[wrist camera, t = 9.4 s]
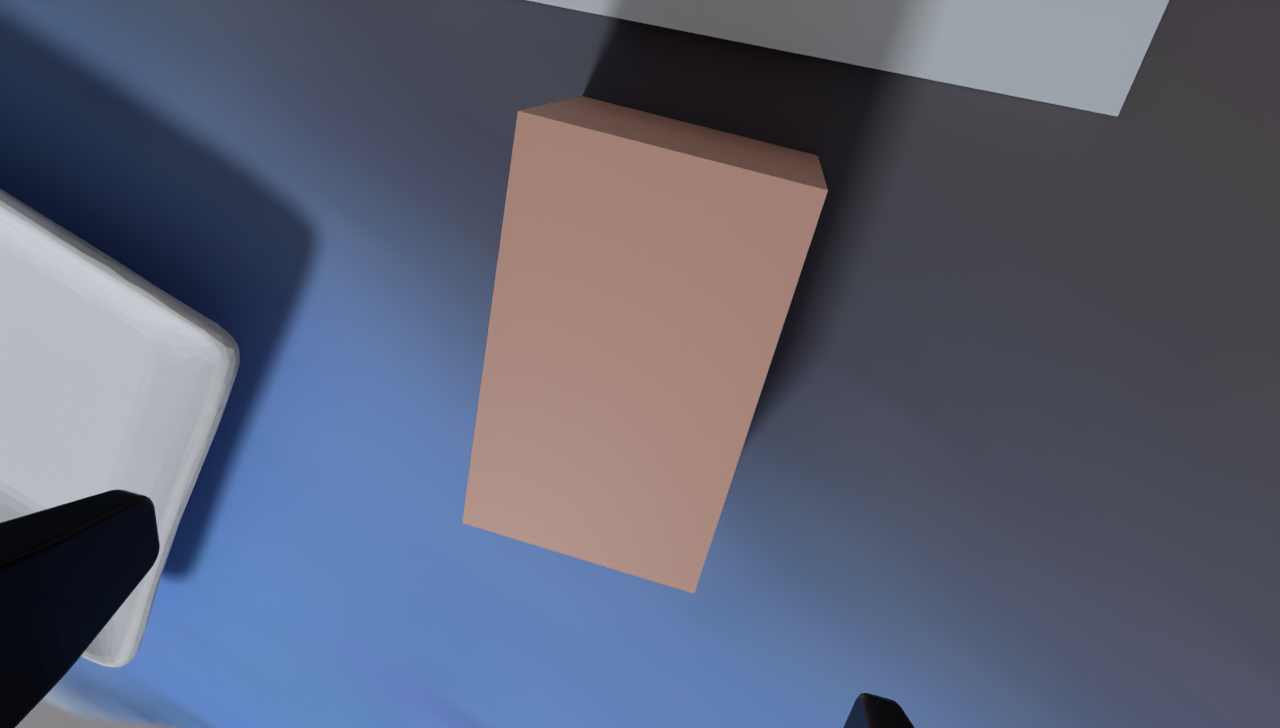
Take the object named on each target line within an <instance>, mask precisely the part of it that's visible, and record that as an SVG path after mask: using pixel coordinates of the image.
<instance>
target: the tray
mask: <svg viewBox="0 0 1280 728" xmlns="http://www.w3.org/2000/svg"><path fill="white" fill-rule="evenodd" d="M239 365H240V356H239V348H238V345H237V343H236V341H235V339H234V338H233V337H232V336H231V335H230V334H229V333H228V332H227V331H226V330H224V329H223V328H222V327H221V326H219V325H218V324H217V323H215V322H213V321H212V320H210V319H208V318H207V317H205V316H203V315H202V314H200V313H199V312H197V311H196V310H194V309H192V308H191V307H189V306H187V305H186V304H184V303H183V302H181V301H179V300H178V299H176V298H174V297H173V296H171V295H169V294H168V293H166V292H165V291H163V290H161V289H160V288H158V287H157V286H155V285H153V284H152V283H150V282H149V281H147V280H146V279H144V278H143V277H141V276H139V275H138V274H136V273H135V272H133V271H132V270H130V269H129V268H127V267H125V266H124V265H122V264H121V263H119V262H118V261H116V260H114V259H113V258H111V257H110V256H108V255H107V254H105V253H103V252H102V251H100V250H98V249H97V248H95V247H94V246H92V245H90V244H89V243H87V242H86V241H84V240H82V239H81V238H79V237H78V236H76V235H74V234H73V233H71V232H69V231H68V230H66V229H65V228H63V227H61V226H60V225H58V224H57V223H55V222H53V221H52V220H50V219H49V218H47V217H45V216H44V215H42V214H41V213H39V212H37V211H36V210H34V209H32V208H31V207H29V206H28V205H26V204H24V203H23V202H21V201H20V200H18V199H16V198H15V197H13V196H12V195H10V194H8V193H7V192H5V191H4V190H2V189H0V523H1V522H4V521H8V520H11V519H15V518H18V517H21V516H25V515H28V514H32V513H35V512H39V511H42V510H45V509H49V508H52V507H56V506H59V505H62V504H66V503H69V502H73V501H76V500H80V499H83V498H86V497H90V496H93V495H97V494H100V493H103V492H107V491H110V490H116V489H120V490H126V491H130V492H133V493H137V494H141V495H144V496H147V497H149V498H150V499H151V501H152V502H153V504H154V507H155V514H156V521H157V529H158V536H159V543H160V549H159V554H158V557H157V560H156V561H155V563H154V565H153V566H152V568H151V569H150V571H149V572H148V573H147V574H146V575H145V577H144V578H143V579H142V580H141V582H140V583H139V584H138V585H137V587H136V588H135V589H134V590H133V592H132V593H131V594H130V595H129V597H128V598H127V599H126V600H125V602H124V603H123V604H122V605H121V607H120V608H119V609H118V610H117V612H116V613H115V614H114V615H113V617H112V618H111V619H110V620H109V622H108V623H107V624H106V625H105V627H104V628H103V629H102V630H101V632H100V633H99V634H98V635H97V637H96V638H95V639H94V640H93V642H92V643H91V644H90V645H89V646H88V648H87V649H86V650H85V651H84V653H83V654H82V655H81V656H82V657H84V658H86V659H88V660H90V661H92V662H95V663H98V664H100V665H103V666H108V667H121V666H123V665H125V664H127V663H129V662H130V661H131V660H132V659H133V658H134V657H135V655H136V654H137V652H138V649H139V647H140V644H141V641H142V638H143V635H144V631H145V628H146V625H147V622H148V619H149V616H150V612H151V609H152V605H153V602H154V598H155V595H156V591H157V588H158V584H159V581H160V578H161V575H162V572H163V570H164V567H165V564H166V561H167V558H168V555H169V552H170V549H171V546H172V543H173V540H174V538H175V535H176V532H177V529H178V526H179V523H180V521H181V518H182V516H183V513H184V510H185V508H186V505H187V503H188V500H189V498H190V495H191V493H192V490H193V488H194V485H195V483H196V480H197V478H198V475H199V473H200V470H201V468H202V465H203V463H204V460H205V458H206V456H207V453H208V451H209V448H210V446H211V443H212V441H213V439H214V436H215V434H216V431H217V429H218V426H219V424H220V421H221V418H222V415H223V413H224V410H225V407H226V404H227V401H228V398H229V395H230V392H231V390H232V387H233V384H234V381H235V378H236V375H237V371H238V368H239Z"/></svg>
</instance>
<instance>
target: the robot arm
mask: <svg viewBox="0 0 1280 728" xmlns="http://www.w3.org/2000/svg"><path fill="white" fill-rule="evenodd" d="M159 549H160V543H159V536H158V529H157V521H156V514H155V507H154V504H153V502H152V501H151V499H150V498H149V497H147V496H144V495H141V494H137V493H133V492H130V491H126V490H120V489H116V490H110V491H107V492H103V493H100V494H97V495H93V496H90V497H86V498H83V499H80V500H76V501H73V502H69V503H66V504H62V505H59V506H56V507H52V508H49V509H45V510H42V511H39V512H35V513H32V514H28V515H25V516H21V517H18V518H15V519H11V520H8V521H4V522H1V523H0V728H15V727H16V726H17V725H18V724H19V723H20V722H21V721H22V720H23V719H24V718H25V717H26V715H27V714H28V713H29V712H30V711H31V710H32V709H33V708H34V707H35V706H36V705H37V704H38V703H39V702H40V701H41V700H42V699H43V698H44V697H45V696H46V695H47V693H48V692H49V691H50V690H51V689H52V688H53V687H54V686H55V685H56V684H57V683H58V682H59V681H60V679H61V678H62V677H63V676H64V675H65V674H66V673H67V672H68V671H69V669H70V668H71V667H72V666H73V665H74V663H75V662H76V661H77V660H78V659H79V657H80V656H81V655H82V654H83V653H84V651H85V650H86V649H87V648H88V646H89V645H90V644H91V643H92V642H93V640H94V639H95V638H96V637H97V635H98V634H99V633H100V632H101V630H102V629H103V628H104V627H105V625H106V624H107V623H108V622H109V620H110V619H111V618H112V617H113V615H114V614H115V613H116V612H117V610H118V609H119V608H120V607H121V605H122V604H123V603H124V602H125V600H126V599H127V598H128V597H129V595H130V594H131V593H132V592H133V590H134V589H135V588H136V587H137V585H138V584H139V583H140V582H141V580H142V579H143V578H144V577H145V575H146V574H147V573H148V572H149V571H150V569H151V568H152V566H153V565H154V563H155V561H156V560H157V557H158V554H159ZM844 728H914V726H913V725H912V723H911V722H910V720H909V719H908V717H907V716H906V714H905V713H904V711H903V709H902V708H901V707H900V706H899V705H898V704H897V703H896V702H895V701H893V700H890V699H887V698H883V697H879V696H876V695H872V694H869V693H862V694H860V695H859V696H858V698H857V699H856V701H855V703H854V705H853V707H852V710H851V712H850V714H849V716H848V719H847V721H846V723H845V725H844Z"/></svg>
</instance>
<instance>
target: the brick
mask: <svg viewBox="0 0 1280 728" xmlns="http://www.w3.org/2000/svg"><path fill="white" fill-rule="evenodd" d="M827 192H828V189H827V185H826V182H825V179H824V175H823V172H822V169H821V165H820V162H819V158H818V155H814V154H810V153H806V152H802V151H798V150H794V149H790V148H786V147H782V146H778V145H774V144H770V143H766V142H762V141H758V140H755V139H751V138H747V137H743V136H739V135H735V134H731V133H727V132H723V131H719V130H715V129H711V128H707V127H703V126H699V125H695V124H691V123H687V122H683V121H679V120H675V119H671V118H667V117H664V116H660V115H656V114H652V113H648V112H644V111H640V110H636V109H632V108H628V107H624V106H620V105H616V104H612V103H608V102H604V101H600V100H596V99H592V98H588V97H584V96H580V97H576V98H572V99H567V100H563V101H558V102H554V103H550V104H545V105H541V106H537V107H532V108H528V109H523V110H519V111H518V115H517V122H516V130H515V137H514V144H513V152H512V159H511V166H510V174H509V181H508V189H507V196H506V203H505V211H504V218H503V226H502V233H501V240H500V248H499V255H498V263H497V270H496V277H495V285H494V292H493V299H492V307H491V314H490V322H489V329H488V336H487V344H486V351H485V359H484V366H483V373H482V381H481V388H480V395H479V403H478V410H477V418H476V425H475V432H474V440H473V447H472V455H471V462H470V469H469V477H468V484H467V491H466V499H465V506H464V514H463V521H462V523H464V524H467V525H471V526H474V527H477V528H481V529H484V530H487V531H490V532H494V533H497V534H500V535H503V536H507V537H510V538H513V539H517V540H520V541H523V542H526V543H530V544H533V545H536V546H539V547H543V548H546V549H549V550H552V551H556V552H559V553H562V554H566V555H569V556H572V557H575V558H579V559H582V560H585V561H588V562H592V563H595V564H598V565H602V566H605V567H608V568H611V569H615V570H618V571H621V572H624V573H628V574H631V575H634V576H638V577H641V578H644V579H647V580H651V581H654V582H657V583H660V584H664V585H667V586H670V587H673V588H677V589H680V590H683V591H687V592H690V593H693V594H694V593H695V590H696V587H697V583H698V580H699V577H700V574H701V571H702V568H703V565H704V562H705V559H706V556H707V553H708V550H709V547H710V544H711V541H712V538H713V535H714V532H715V529H716V526H717V523H718V520H719V517H720V514H721V511H722V508H723V505H724V502H725V499H726V496H727V493H728V490H729V487H730V484H731V481H732V478H733V475H734V472H735V469H736V466H737V463H738V460H739V457H740V454H741V451H742V448H743V445H744V442H745V439H746V436H747V433H748V430H749V427H750V424H751V421H752V418H753V415H754V412H755V409H756V406H757V403H758V400H759V397H760V394H761V391H762V388H763V385H764V382H765V379H766V376H767V373H768V370H769V367H770V364H771V361H772V358H773V355H774V352H775V349H776V346H777V343H778V340H779V337H780V334H781V331H782V328H783V325H784V321H785V318H786V315H787V312H788V309H789V306H790V303H791V300H792V297H793V294H794V291H795V288H796V285H797V282H798V279H799V276H800V273H801V270H802V267H803V264H804V261H805V258H806V255H807V252H808V249H809V246H810V243H811V240H812V237H813V234H814V231H815V228H816V225H817V222H818V219H819V216H820V213H821V210H822V207H823V204H824V201H825V198H826V195H827Z"/></svg>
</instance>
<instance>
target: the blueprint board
mask: <svg viewBox="0 0 1280 728" xmlns="http://www.w3.org/2000/svg"><path fill="white" fill-rule="evenodd" d="M528 1H533V2H538V3H543V4H548V5H553V6H559V7H564V8H569V9H574V10H579V11H584V12H589V13H594V14H599V15H604V16H609V17H614V18H620V19H625V20H630V21H635V22H640V23H645V24H650V25H655V26H660V27H665V28H670V29H675V30H681V31H686V32H691V33H696V34H701V35H706V36H711V37H716V38H721V39H726V40H731V41H736V42H742V43H747V44H752V45H757V46H762V47H767V48H772V49H777V50H782V51H787V52H792V53H797V54H803V55H808V56H813V57H818V58H823V59H828V60H833V61H838V62H843V63H848V64H853V65H858V66H864V67H869V68H874V69H879V70H884V71H889V72H894V73H899V74H904V75H909V76H914V77H919V78H924V79H930V80H935V81H940V82H945V83H950V84H955V85H960V86H965V87H970V88H975V89H980V90H985V91H991V92H996V93H1001V94H1006V95H1011V96H1016V97H1021V98H1026V99H1031V100H1036V101H1041V102H1046V103H1052V104H1057V105H1062V106H1067V107H1072V108H1077V109H1082V110H1087V111H1092V112H1097V113H1102V114H1107V115H1113V116H1118V114H1119V112H1120V110H1121V108H1122V105H1123V103H1124V101H1125V99H1126V96H1127V94H1128V92H1129V90H1130V87H1131V85H1132V83H1133V81H1134V78H1135V76H1136V74H1137V72H1138V69H1139V67H1140V65H1141V63H1142V60H1143V58H1144V56H1145V54H1146V51H1147V49H1148V47H1149V45H1150V42H1151V40H1152V38H1153V36H1154V33H1155V31H1156V29H1157V27H1158V24H1159V22H1160V20H1161V18H1162V16H1163V13H1164V11H1165V9H1166V7H1167V4H1168V2H1169V0H528Z"/></svg>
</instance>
